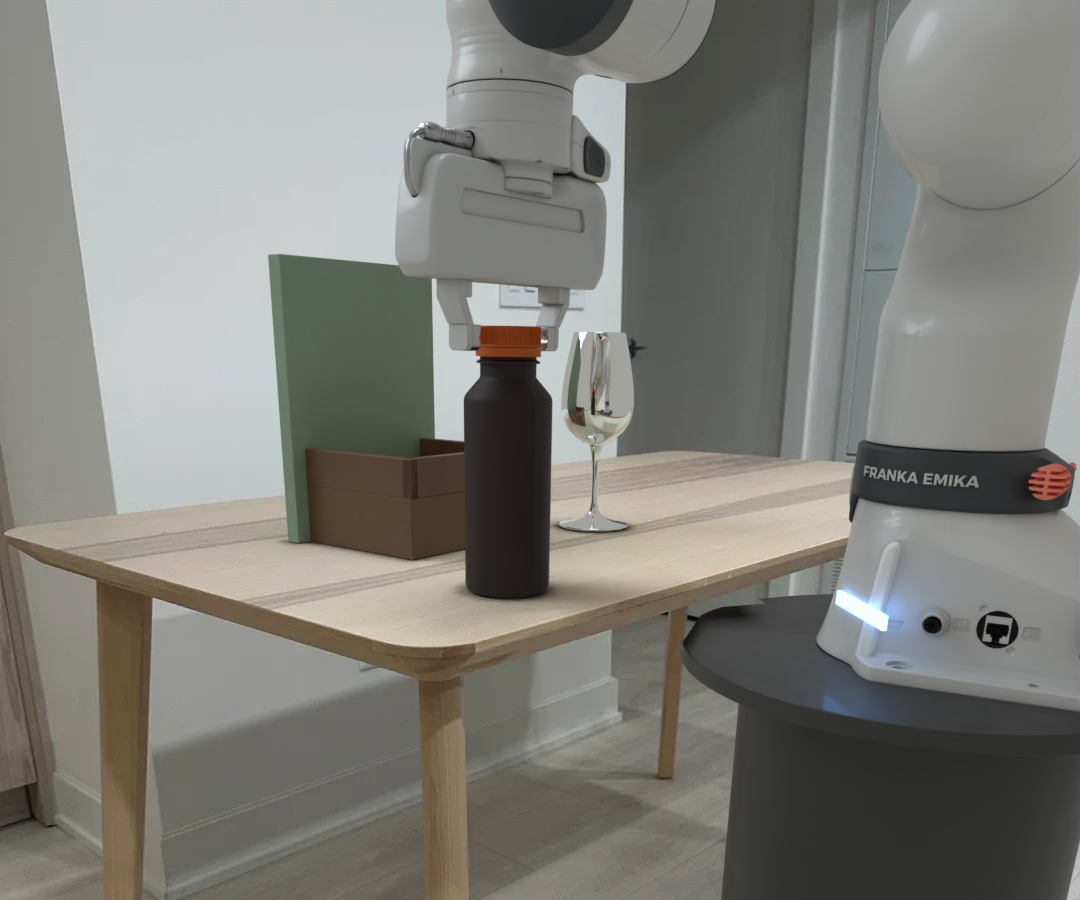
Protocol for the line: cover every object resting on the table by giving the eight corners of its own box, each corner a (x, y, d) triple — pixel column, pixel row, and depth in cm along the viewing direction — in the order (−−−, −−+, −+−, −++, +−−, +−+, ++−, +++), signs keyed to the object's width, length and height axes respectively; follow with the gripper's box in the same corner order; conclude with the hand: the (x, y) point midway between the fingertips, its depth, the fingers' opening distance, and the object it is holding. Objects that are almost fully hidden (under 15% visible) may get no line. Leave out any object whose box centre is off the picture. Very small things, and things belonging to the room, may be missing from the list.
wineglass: (635, 523, 114) (644, 333, 107) (619, 534, 107) (628, 332, 100) (569, 518, 116) (573, 332, 109) (549, 529, 109) (552, 331, 102)
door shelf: (534, 533, 107) (538, 264, 98) (401, 562, 92) (390, 247, 83) (426, 517, 116) (420, 268, 107) (288, 541, 101) (267, 254, 92)
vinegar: (456, 582, 84) (452, 325, 77) (533, 578, 87) (536, 327, 80) (478, 601, 78) (477, 324, 71) (560, 596, 81) (567, 326, 74)
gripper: (442, 110, 62) (444, 351, 67) (624, 159, 77) (614, 353, 82) (370, 120, 65) (376, 348, 70) (557, 165, 81) (551, 350, 86)
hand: (506, 351), depth 76 cm, fingers open, 8 cm apart
